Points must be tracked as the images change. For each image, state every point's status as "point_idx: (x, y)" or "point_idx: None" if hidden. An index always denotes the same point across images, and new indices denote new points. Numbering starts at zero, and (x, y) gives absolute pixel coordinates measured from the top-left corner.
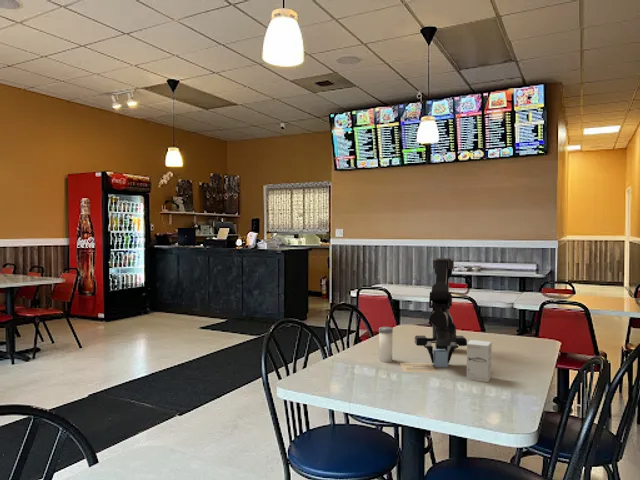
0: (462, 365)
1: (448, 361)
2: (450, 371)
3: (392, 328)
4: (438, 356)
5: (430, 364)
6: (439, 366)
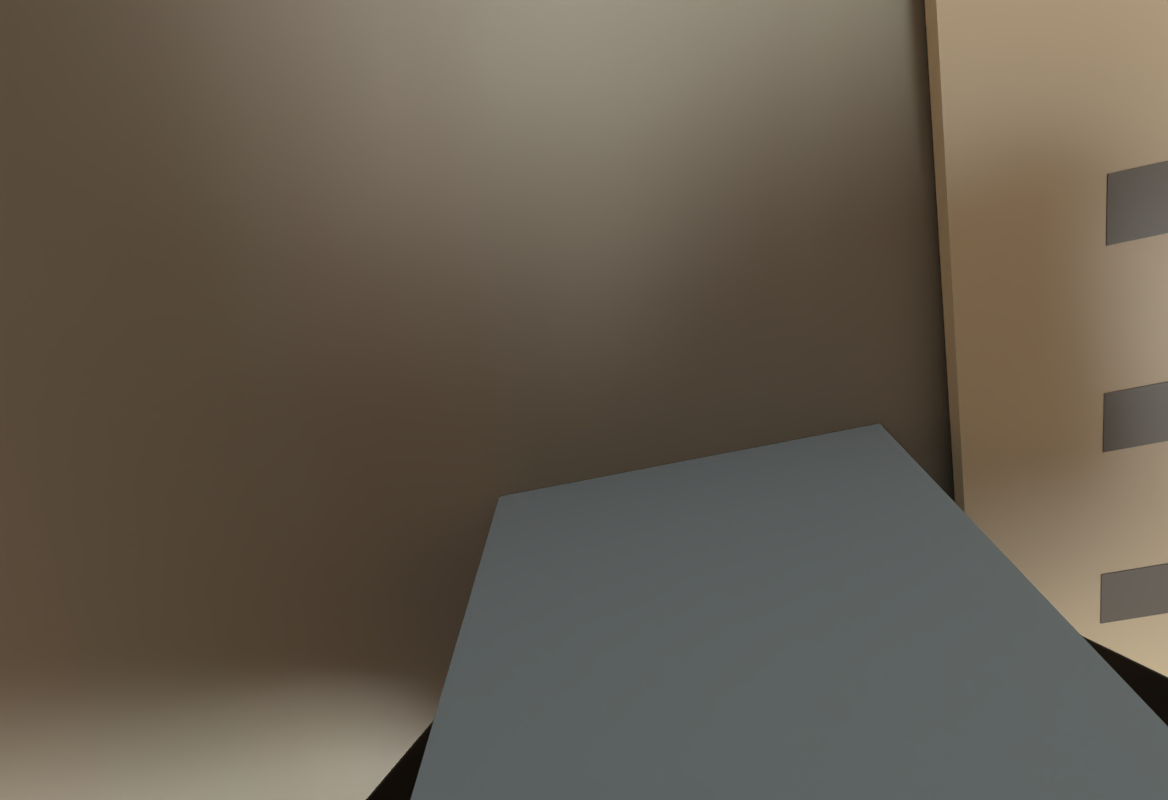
0: (137, 777)
1: None
2: (377, 49)
3: None
4: (941, 719)
5: None
6: (761, 466)
